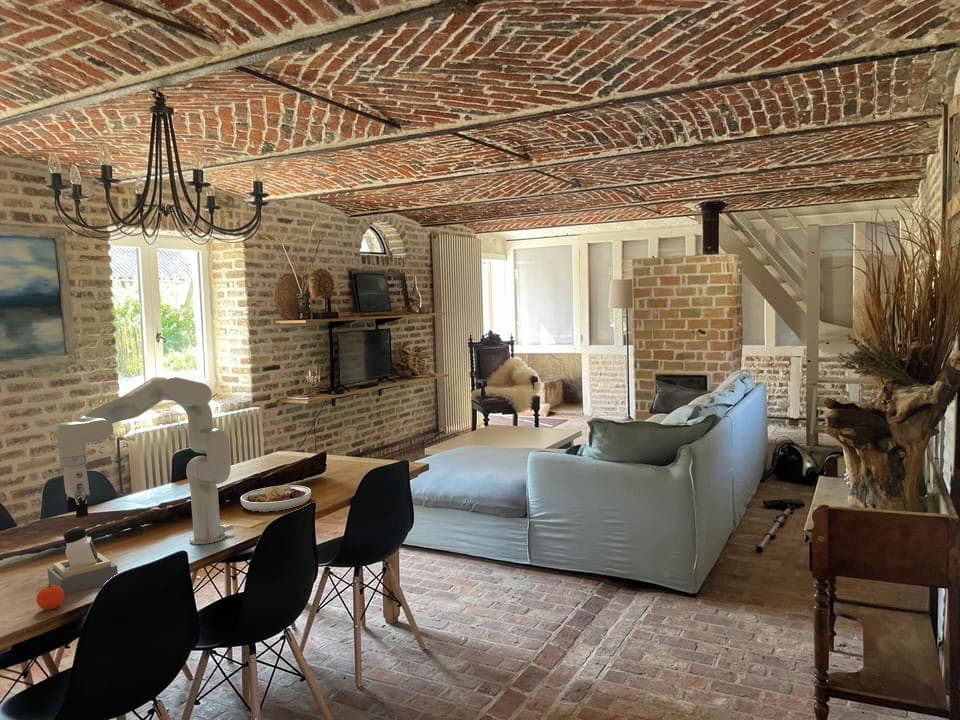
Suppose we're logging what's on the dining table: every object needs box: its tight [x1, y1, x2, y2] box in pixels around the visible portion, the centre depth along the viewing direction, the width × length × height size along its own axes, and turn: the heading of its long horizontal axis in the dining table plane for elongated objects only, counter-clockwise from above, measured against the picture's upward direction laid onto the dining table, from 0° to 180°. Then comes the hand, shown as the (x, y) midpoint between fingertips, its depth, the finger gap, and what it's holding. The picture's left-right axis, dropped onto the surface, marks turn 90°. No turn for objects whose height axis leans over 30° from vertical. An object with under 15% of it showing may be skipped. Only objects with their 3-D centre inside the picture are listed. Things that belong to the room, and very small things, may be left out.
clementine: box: [35, 584, 65, 611], centre depth 205 cm, size 8×7×7 cm
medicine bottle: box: [63, 526, 98, 569], centre depth 225 cm, size 7×7×12 cm
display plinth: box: [46, 552, 119, 596], centre depth 225 cm, size 16×16×6 cm
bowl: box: [240, 484, 312, 513], centre depth 312 cm, size 30×30×8 cm
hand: (78, 513), depth 224 cm, fingers open, 9 cm apart
